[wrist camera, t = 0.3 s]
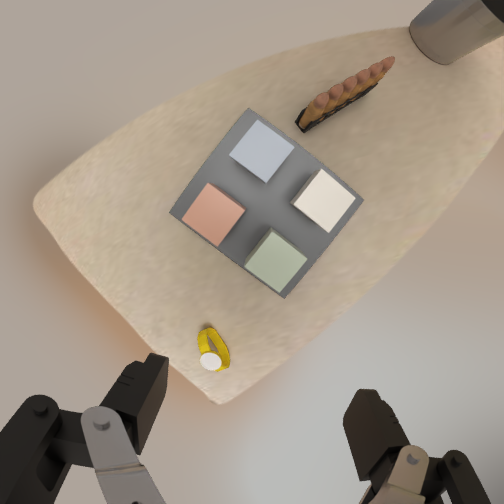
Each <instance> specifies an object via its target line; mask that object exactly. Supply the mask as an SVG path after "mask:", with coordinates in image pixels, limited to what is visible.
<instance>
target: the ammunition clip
mask: <svg viewBox="0 0 504 504" xmlns="http://www.w3.org/2000/svg"><path fill="white" fill-rule="evenodd" d="M394 61H395V58H394V57H387V58H385V59H384V60H382V61H381V62H379V63H375V64H373V65H372V66H370V67H369V68H368V69H364V70H362V71H360V72H359V73H357V74H356V75H355V76H352V77H349V78H347V79H346V80H345V81H344V82H343V83H341V84H337V85H335V86H333V87H332V88H331V89H330V90H329V91H328V92H326V93H321V94H320V95H318V96H317V97H316V98H315V99H314V100H313V101H312V102H310V104H309V105H308V107H306V108H305V109H303V110H302V111H301V113H300V115H299V116H298V118H297V119H296V121H295V123H296V124H297V125H298V127H299V128H300V129H301V130H302V132H303V133H305V132H306V131H308V130H310V129H311V128H313V127H314V126H316V125H317V124H319V123H320V122H322V121H323V120H325V119H327V118H328V117H330V116H331V115H333V114H334V113H336V112H338V111H339V110H341V109H343V108H344V107H346V106H347V105H349V104H351V103H352V102H354V101H356V100H357V99H359V98H361V97H362V96H364V95H366V94H367V93H368V92H369V91H370V90H371V89H373V88H374V87H375V86H376V85H377V84H378V83H377V82H378V81H379V80H381V79H382V78H383V77H384V75H385V73H386V72H387V71H388V70H389V69H390V68H391V67H392V65H393V64H394Z"/></svg>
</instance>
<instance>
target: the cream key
mask: <svg viewBox="0 0 504 504" xmlns="http://www.w3.org/2000/svg"><path fill="white" fill-rule="evenodd" d="M355 199H356V198H355V197H354V196H353V195H352V194H351V193H349V192H348V191H347V190H346V189H345V188H344V187H343V186H342V185H340V184H339V183H338V182H337V181H336V180H335V179H333V178H332V177H331V176H330V175H329V174H328V173H326V172H325V171H324V170H323V169H319V170H316V171H314V173H313V174H312V175H311V177H310V178H309V179H308V180H307V182H306V183H305V184H304V185H303V187H302V188H301V189H300V190H299V192H298V193H297V194H296V196H295V197H294V198H293V199H292V201H291V202H290V203H291V204H292V205H293V206H295V207H296V208H297V209H298V210H300V211H301V212H302V213H303V214H304V215H306V216H307V217H308V218H309V219H311V220H312V221H313V222H314V223H316V224H317V225H318V226H319V227H320V228H322V229H323V230H325V231H326V232H328V233H329V232H330V231H331V229H332V228H333V227H334V226H335V224H336V223H337V222H338V221H339V219H340V218H341V217H342V215H343V214H344V213H345V212H346V210H347V209H348V208H349V206H350V205H351V204H352V203H353V201H354V200H355Z"/></svg>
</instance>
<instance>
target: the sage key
mask: <svg viewBox="0 0 504 504" xmlns="http://www.w3.org/2000/svg"><path fill="white" fill-rule="evenodd" d="M306 261H307V257H306V256H305V254H304V253H303V252H302V251H301V250H300V249H299V248H297V247H296V246H295V245H294V244H292V243H291V242H290V241H289V240H287V239H286V238H285V237H283V236H282V235H281V234H280V233H278V232H277V231H276V230H274V229H273V228H272V227H270V229H269V230H268V231H267V232H266V234H265V235H264V236H263V237H262V239H261V240H260V241H259V242H258V244H257V245H256V246H255V248H254V249H253V250H252V251H251V253H250V254H249V255H248V256H247V258H246V260H245V266H244V267H245V268H246V269H248V270H249V271H250V272H252V273H253V274H254V275H256V276H257V277H258V278H260V279H261V280H263V281H264V282H265V283H267V284H268V285H269V286H271V287H272V288H273V289H275V290H276V291H278V292H279V293H280V292H281V290H282V289H283V288H284V287H285V286H286V285H287V283H288V282H289V281H290V280H291V279H292V277H293V276H294V275H295V274H296V273H297V271H298V270H299V269H300V268H301V267H302V265H303V264H304V263H305V262H306Z"/></svg>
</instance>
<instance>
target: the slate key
mask: <svg viewBox="0 0 504 504" xmlns="http://www.w3.org/2000/svg"><path fill="white" fill-rule="evenodd" d="M294 148H295V147H294V146H293V145H291V144H290V143H289V142H288V141H286V140H285V139H284V138H282V137H281V136H280V135H278V134H277V133H275V132H274V131H273V130H271V129H270V128H269V127H267V126H266V125H264V124H263V123H262V122H260V121H259V120H257V121H256V122H255V123H254V124H253V125H252V127H251V128H250V129H249V130H248V131H247V133H246V134H245V135H244V136H243V138H242V139H241V140H240V141H239V143H238V144H237V145H236V146H235V148H234V149H233V150H232V152H231V153H230V154H229V156H230V157H231V158H232V159H233V160H234V161H236V162H237V163H238V164H240V165H241V166H243V167H244V168H245V169H247V170H248V171H249V172H251V173H252V174H253V175H255V176H256V177H257V178H259V179H260V180H261V181H263V182H264V183H265V184H266V183H267V181H268V180H269V179H270V178H271V176H272V175H273V174H274V173H275V171H276V170H277V169H278V168H279V166H280V165H281V164H282V162H283V161H284V160H285V159H286V157H287V156H288V155H289V154H290V152H291V151H292V150H293V149H294Z"/></svg>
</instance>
